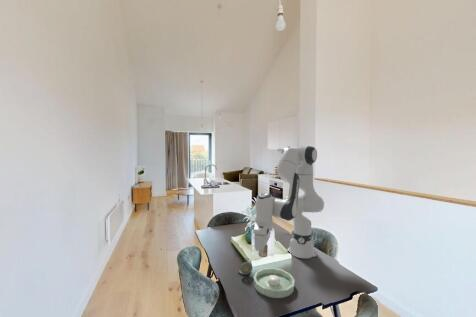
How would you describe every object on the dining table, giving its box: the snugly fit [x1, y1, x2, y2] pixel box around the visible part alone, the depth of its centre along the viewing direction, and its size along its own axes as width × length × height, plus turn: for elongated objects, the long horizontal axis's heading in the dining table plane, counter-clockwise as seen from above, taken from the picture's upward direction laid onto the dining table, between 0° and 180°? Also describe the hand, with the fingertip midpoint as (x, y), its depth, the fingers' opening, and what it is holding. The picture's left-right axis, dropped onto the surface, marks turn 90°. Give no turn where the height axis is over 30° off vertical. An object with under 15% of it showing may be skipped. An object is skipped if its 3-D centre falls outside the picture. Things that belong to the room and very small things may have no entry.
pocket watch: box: [238, 257, 253, 276], centre depth 126 cm, size 8×8×10 cm
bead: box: [258, 244, 268, 258], centre depth 117 cm, size 4×4×5 cm
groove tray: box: [252, 267, 296, 299], centre depth 116 cm, size 20×20×4 cm
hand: (263, 252), depth 117 cm, fingers closed on bead, 4 cm apart
